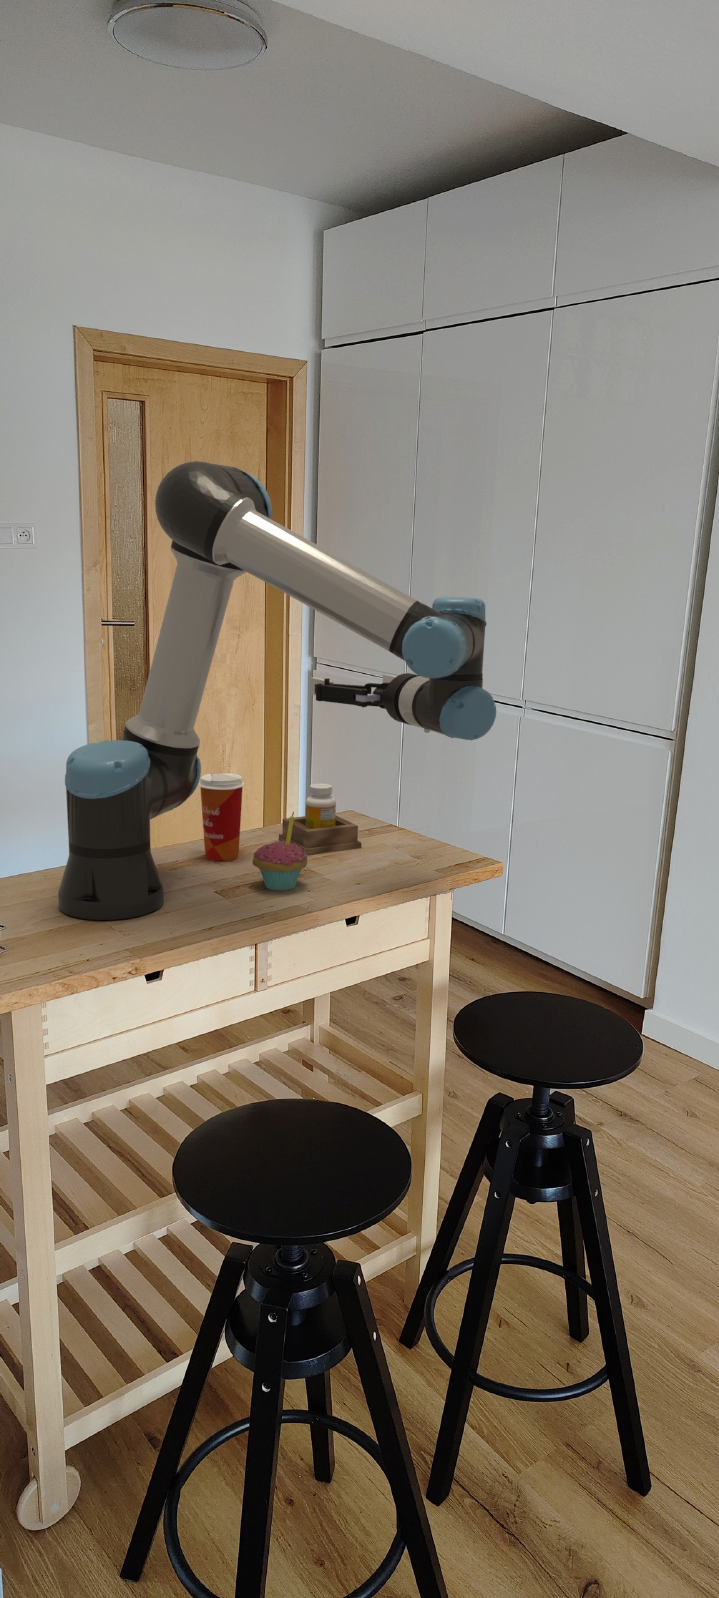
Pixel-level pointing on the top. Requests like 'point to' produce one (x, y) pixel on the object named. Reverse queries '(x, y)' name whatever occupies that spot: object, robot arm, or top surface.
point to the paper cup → (221, 815)
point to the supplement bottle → (320, 807)
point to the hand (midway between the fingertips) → (349, 683)
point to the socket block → (322, 836)
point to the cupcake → (280, 862)
